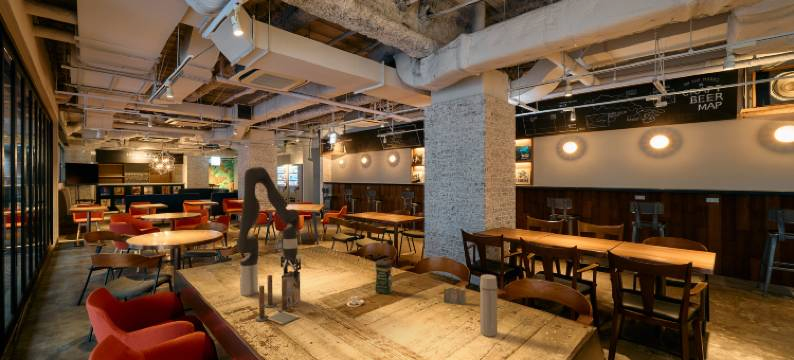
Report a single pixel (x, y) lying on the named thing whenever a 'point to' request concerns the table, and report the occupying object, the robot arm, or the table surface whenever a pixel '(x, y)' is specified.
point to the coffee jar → (383, 277)
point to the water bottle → (488, 305)
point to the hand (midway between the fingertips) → (290, 276)
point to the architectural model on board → (455, 295)
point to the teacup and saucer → (355, 301)
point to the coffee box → (292, 288)
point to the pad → (283, 318)
